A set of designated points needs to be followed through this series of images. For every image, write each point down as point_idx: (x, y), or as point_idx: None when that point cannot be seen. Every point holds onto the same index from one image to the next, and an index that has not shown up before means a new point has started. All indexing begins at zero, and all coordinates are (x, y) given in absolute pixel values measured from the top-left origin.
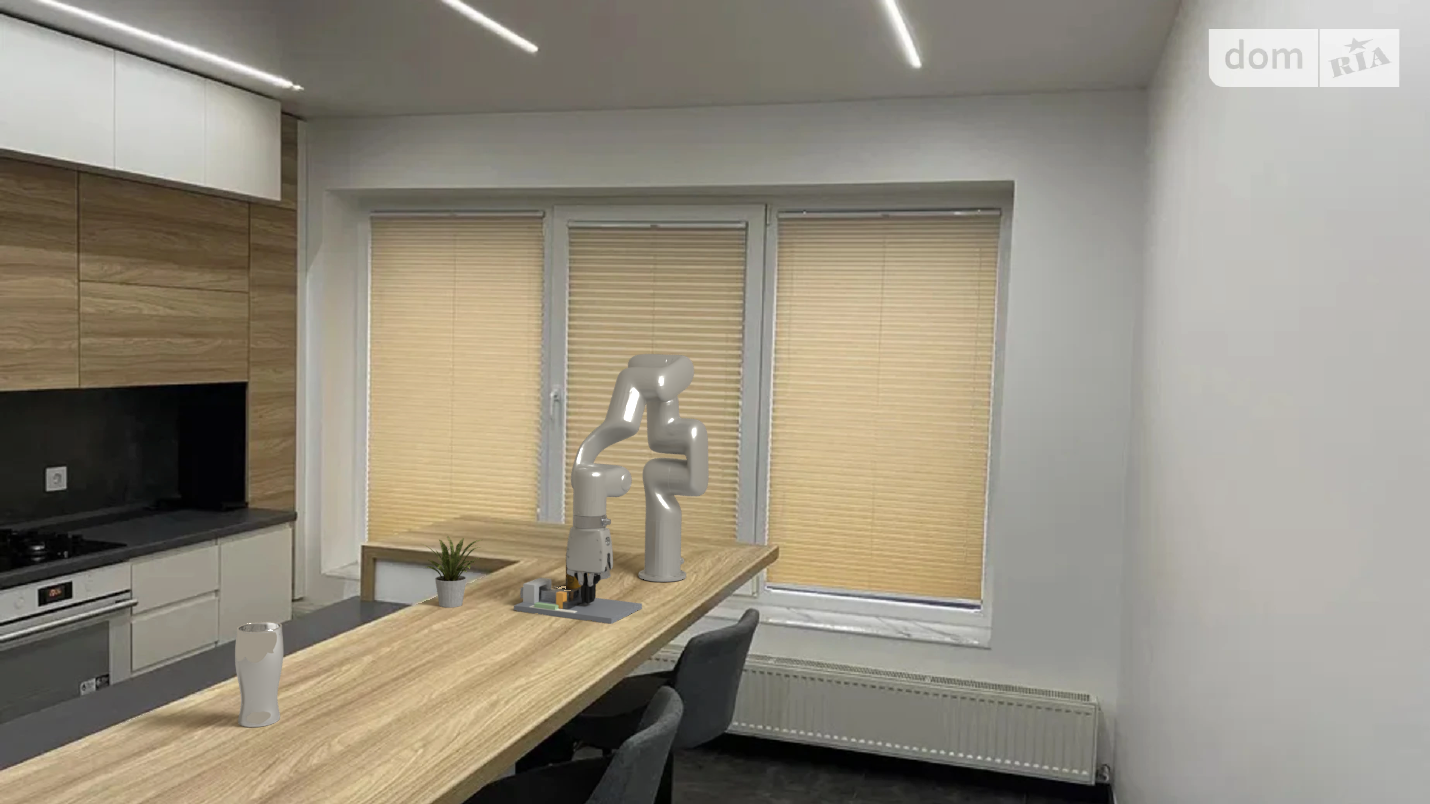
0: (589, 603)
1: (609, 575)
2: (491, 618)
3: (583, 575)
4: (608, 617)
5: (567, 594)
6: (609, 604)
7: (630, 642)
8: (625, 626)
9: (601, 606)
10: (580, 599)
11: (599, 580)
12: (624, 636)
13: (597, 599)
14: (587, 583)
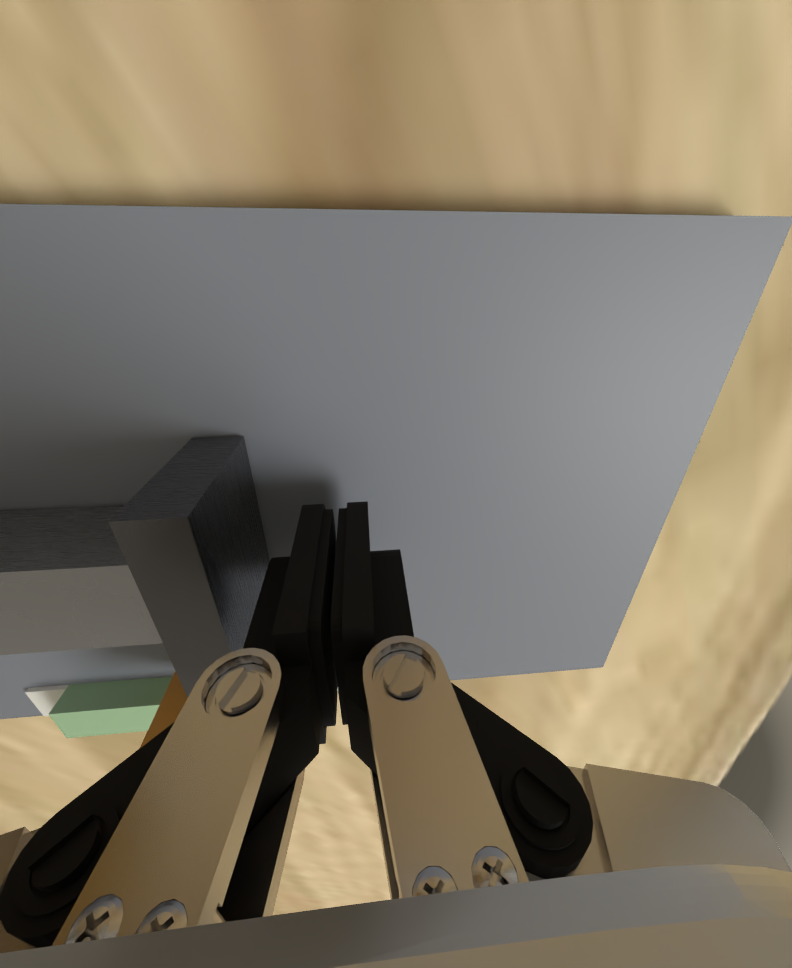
0: (308, 469)
1: (754, 861)
2: (37, 790)
3: (265, 898)
4: (583, 663)
5: (141, 637)
6: (484, 417)
7: (703, 750)
8: (662, 640)
9: (448, 501)
10: (254, 552)
11: (502, 734)
12: (675, 722)
13: (274, 286)
14: (316, 708)
